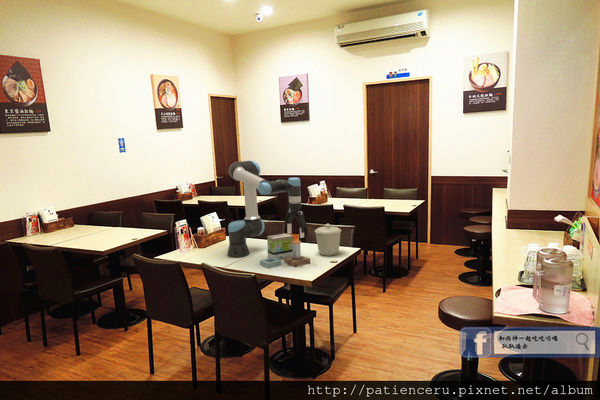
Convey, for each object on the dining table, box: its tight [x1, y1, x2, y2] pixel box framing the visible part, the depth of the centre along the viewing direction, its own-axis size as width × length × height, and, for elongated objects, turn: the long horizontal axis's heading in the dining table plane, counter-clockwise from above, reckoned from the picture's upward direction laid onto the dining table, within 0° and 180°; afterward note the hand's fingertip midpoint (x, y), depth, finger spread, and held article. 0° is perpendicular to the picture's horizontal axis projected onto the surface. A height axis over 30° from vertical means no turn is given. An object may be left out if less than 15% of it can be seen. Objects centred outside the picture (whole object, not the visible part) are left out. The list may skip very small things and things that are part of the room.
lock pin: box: [291, 239, 302, 260], centre depth 255 cm, size 5×5×14 cm
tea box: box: [266, 233, 294, 260], centre depth 270 cm, size 15×10×15 cm
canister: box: [314, 223, 342, 257], centre depth 273 cm, size 18×18×21 cm
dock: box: [283, 255, 311, 268], centre depth 256 cm, size 12×12×3 cm
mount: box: [259, 257, 283, 269], centre depth 254 cm, size 10×10×3 cm
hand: (295, 235), depth 254 cm, fingers open, 13 cm apart
